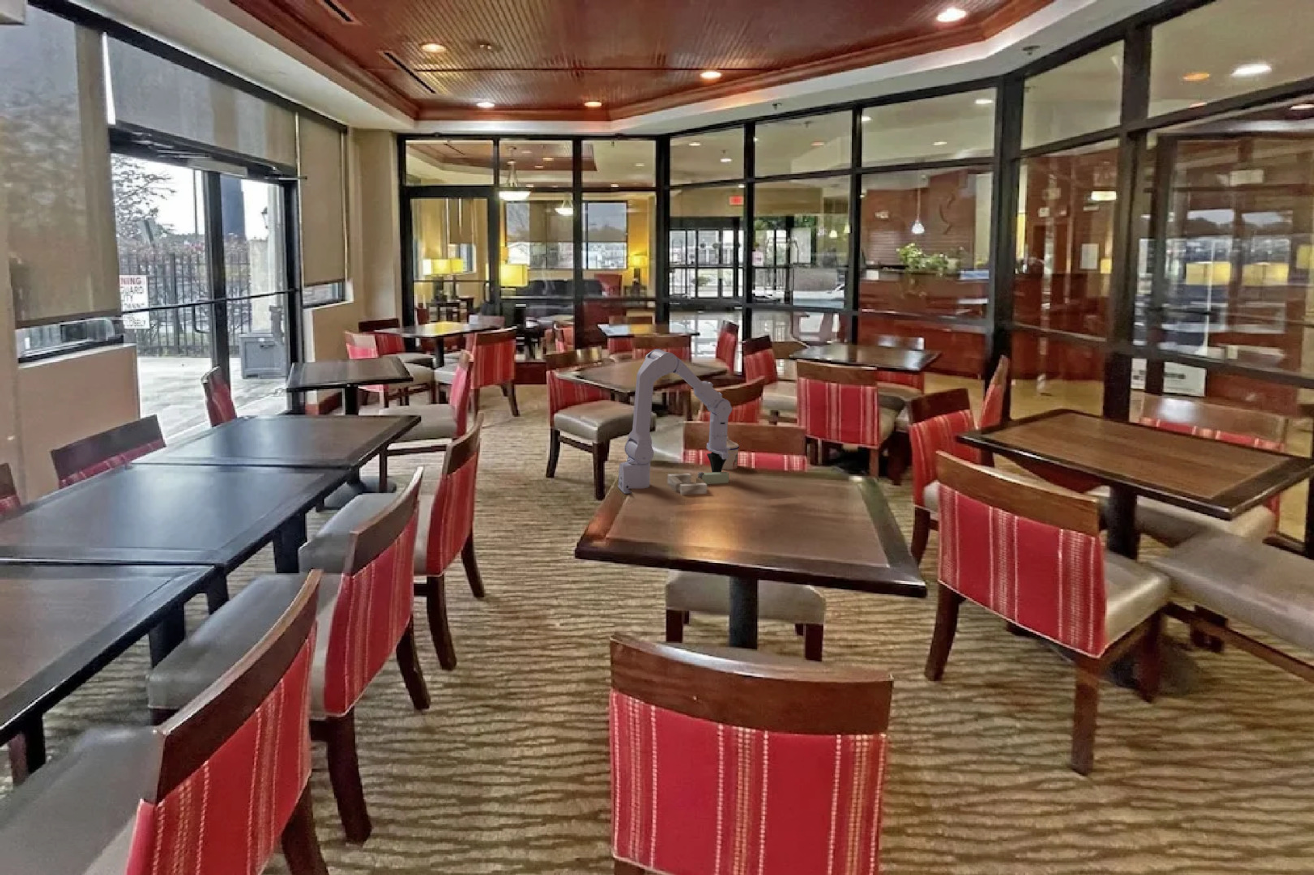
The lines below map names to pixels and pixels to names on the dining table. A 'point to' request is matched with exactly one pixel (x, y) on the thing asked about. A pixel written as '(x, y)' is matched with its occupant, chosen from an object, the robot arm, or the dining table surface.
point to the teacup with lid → (731, 455)
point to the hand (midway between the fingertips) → (716, 475)
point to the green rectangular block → (714, 477)
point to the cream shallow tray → (680, 484)
